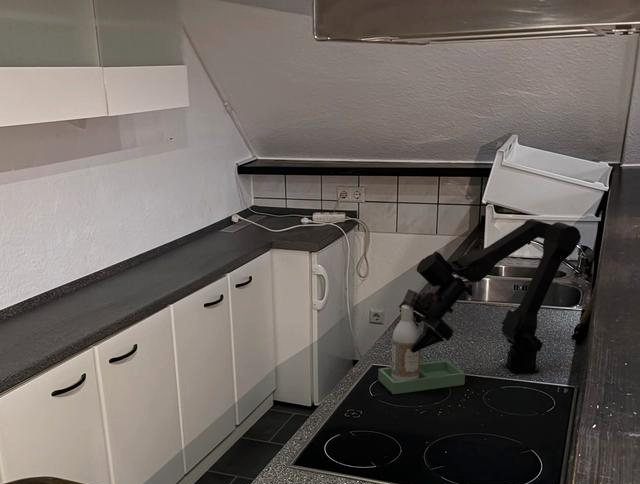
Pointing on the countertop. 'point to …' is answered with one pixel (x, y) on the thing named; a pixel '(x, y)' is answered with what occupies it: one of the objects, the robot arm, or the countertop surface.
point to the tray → (424, 378)
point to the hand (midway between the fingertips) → (403, 345)
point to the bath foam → (405, 347)
